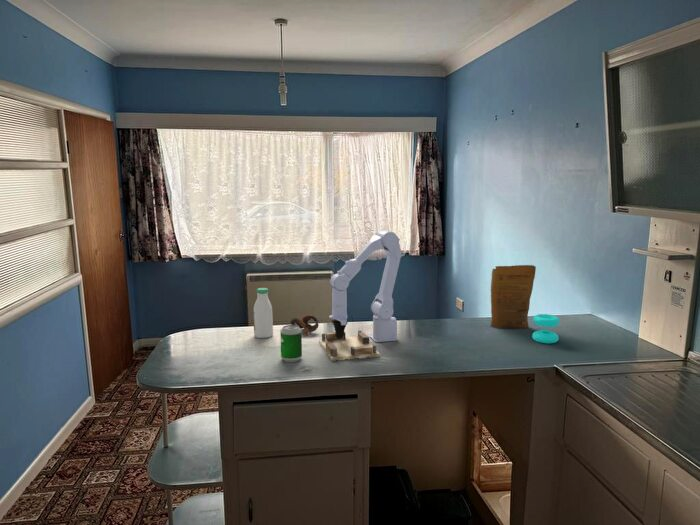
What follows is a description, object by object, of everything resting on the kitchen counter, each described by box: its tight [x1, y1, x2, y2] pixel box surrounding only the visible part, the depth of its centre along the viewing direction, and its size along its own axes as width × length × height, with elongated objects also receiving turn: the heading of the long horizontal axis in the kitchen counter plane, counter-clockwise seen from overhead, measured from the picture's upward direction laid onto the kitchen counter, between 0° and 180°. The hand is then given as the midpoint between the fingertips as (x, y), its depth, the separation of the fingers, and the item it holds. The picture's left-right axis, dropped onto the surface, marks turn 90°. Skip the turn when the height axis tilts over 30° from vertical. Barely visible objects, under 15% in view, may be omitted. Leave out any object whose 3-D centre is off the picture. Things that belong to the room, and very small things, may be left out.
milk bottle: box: [253, 287, 274, 339], centre depth 204 cm, size 8×8×20 cm
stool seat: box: [318, 330, 381, 362], centre depth 189 cm, size 18×22×4 cm
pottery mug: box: [290, 314, 319, 336], centre depth 210 cm, size 12×10×8 cm
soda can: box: [280, 324, 303, 363], centre depth 177 cm, size 8×8×12 cm
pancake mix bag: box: [490, 264, 537, 330], centre depth 216 cm, size 7×19×28 cm, turn 86°
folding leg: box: [325, 331, 346, 340], centre depth 197 cm, size 8×3×3 cm, turn 107°
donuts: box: [531, 313, 561, 344], centre depth 199 cm, size 10×10×10 cm
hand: (339, 338), depth 195 cm, fingers closed
